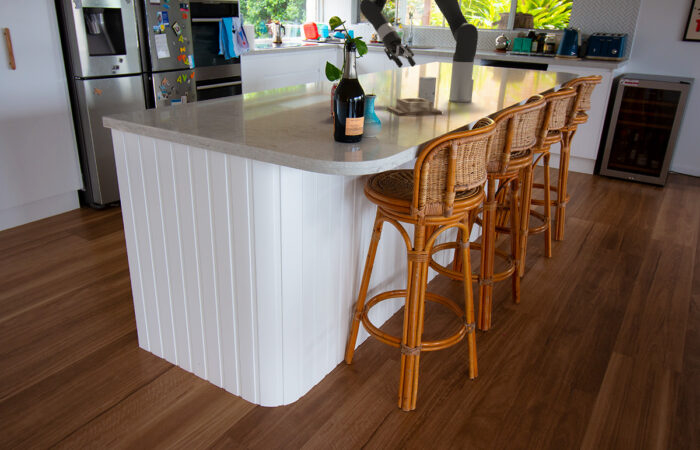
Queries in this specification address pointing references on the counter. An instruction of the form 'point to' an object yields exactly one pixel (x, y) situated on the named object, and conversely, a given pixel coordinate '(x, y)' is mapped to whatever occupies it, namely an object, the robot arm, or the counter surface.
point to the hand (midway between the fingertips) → (407, 65)
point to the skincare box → (427, 88)
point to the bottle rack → (414, 107)
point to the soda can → (332, 96)
